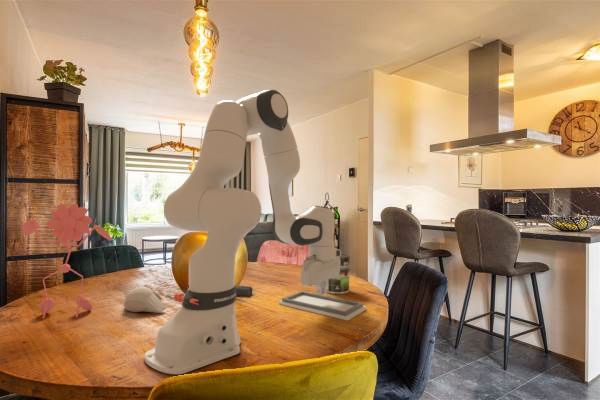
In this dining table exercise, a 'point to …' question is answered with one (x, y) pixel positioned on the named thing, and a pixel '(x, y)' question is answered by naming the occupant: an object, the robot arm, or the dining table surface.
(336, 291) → the coffee can
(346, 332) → the dining table surface
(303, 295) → the baseplate tray
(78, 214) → the figurine
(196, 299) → the robot arm
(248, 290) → the can opener
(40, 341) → the dining table surface
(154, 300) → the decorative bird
